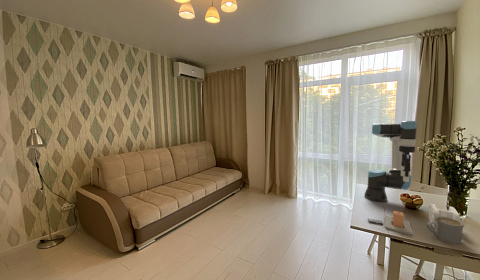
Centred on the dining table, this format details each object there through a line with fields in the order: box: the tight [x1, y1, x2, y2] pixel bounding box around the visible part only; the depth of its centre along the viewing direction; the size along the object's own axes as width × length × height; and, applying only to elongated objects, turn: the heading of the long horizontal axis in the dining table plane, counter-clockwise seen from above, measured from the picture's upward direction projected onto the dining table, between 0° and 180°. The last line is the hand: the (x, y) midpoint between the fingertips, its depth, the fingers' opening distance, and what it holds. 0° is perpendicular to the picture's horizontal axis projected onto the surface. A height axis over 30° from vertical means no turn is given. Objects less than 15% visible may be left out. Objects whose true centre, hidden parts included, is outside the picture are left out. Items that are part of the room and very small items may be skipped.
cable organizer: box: [428, 203, 461, 229], centre depth 113 cm, size 15×11×12 cm
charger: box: [392, 210, 405, 228], centre depth 114 cm, size 4×4×9 cm
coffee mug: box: [426, 216, 464, 245], centre depth 103 cm, size 13×10×10 cm
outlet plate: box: [384, 215, 414, 236], centre depth 115 cm, size 16×12×1 cm
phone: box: [367, 218, 384, 226], centre depth 119 cm, size 4×7×1 cm, turn 64°
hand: (404, 178), depth 120 cm, fingers open, 13 cm apart
